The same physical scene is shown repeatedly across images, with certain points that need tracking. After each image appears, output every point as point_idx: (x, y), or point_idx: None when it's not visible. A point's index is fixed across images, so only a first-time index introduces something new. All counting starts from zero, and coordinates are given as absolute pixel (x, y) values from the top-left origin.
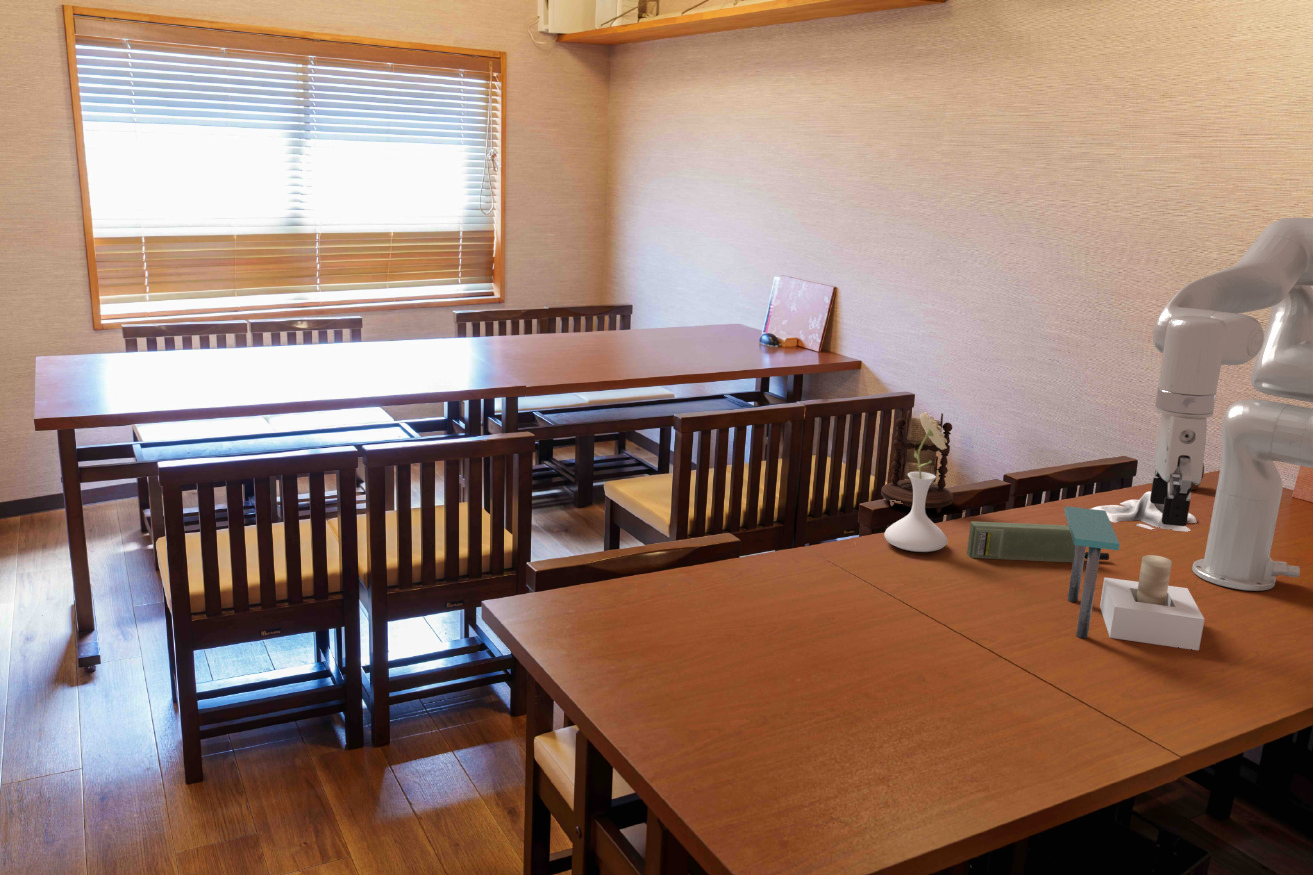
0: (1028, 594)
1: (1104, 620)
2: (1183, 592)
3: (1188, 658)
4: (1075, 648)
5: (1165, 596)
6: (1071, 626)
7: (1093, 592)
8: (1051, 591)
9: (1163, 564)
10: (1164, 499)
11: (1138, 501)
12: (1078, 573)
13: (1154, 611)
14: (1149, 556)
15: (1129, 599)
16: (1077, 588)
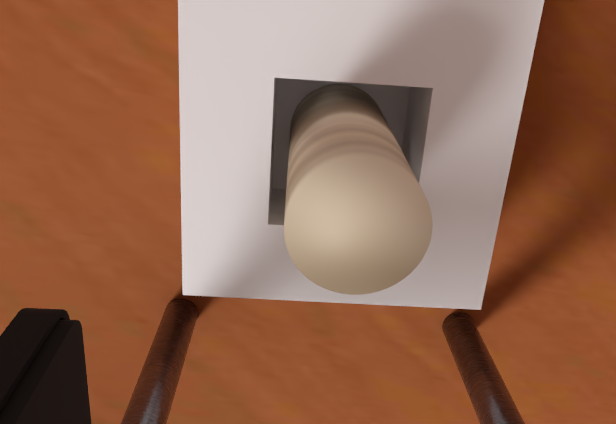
0: (183, 419)
1: None
2: (244, 4)
3: (565, 45)
4: (542, 351)
5: (382, 123)
6: (392, 341)
7: (519, 418)
8: (129, 359)
9: (427, 213)
10: (73, 422)
11: None
12: (178, 374)
13: (497, 182)
14: (311, 255)
15: None
16: (186, 334)
